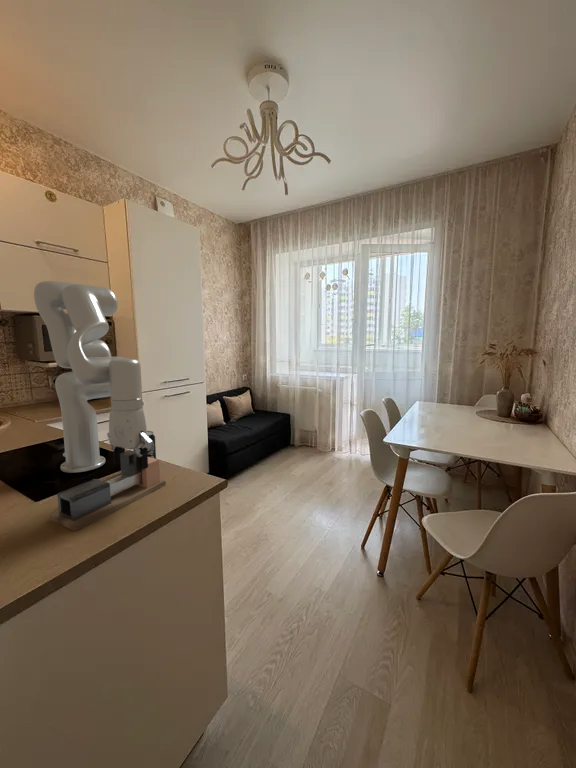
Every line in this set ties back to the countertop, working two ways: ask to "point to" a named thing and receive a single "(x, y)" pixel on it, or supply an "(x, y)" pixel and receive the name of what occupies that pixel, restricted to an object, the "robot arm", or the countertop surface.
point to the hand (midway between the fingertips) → (130, 465)
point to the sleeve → (84, 499)
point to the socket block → (150, 473)
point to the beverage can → (153, 449)
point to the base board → (108, 506)
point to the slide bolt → (126, 473)
